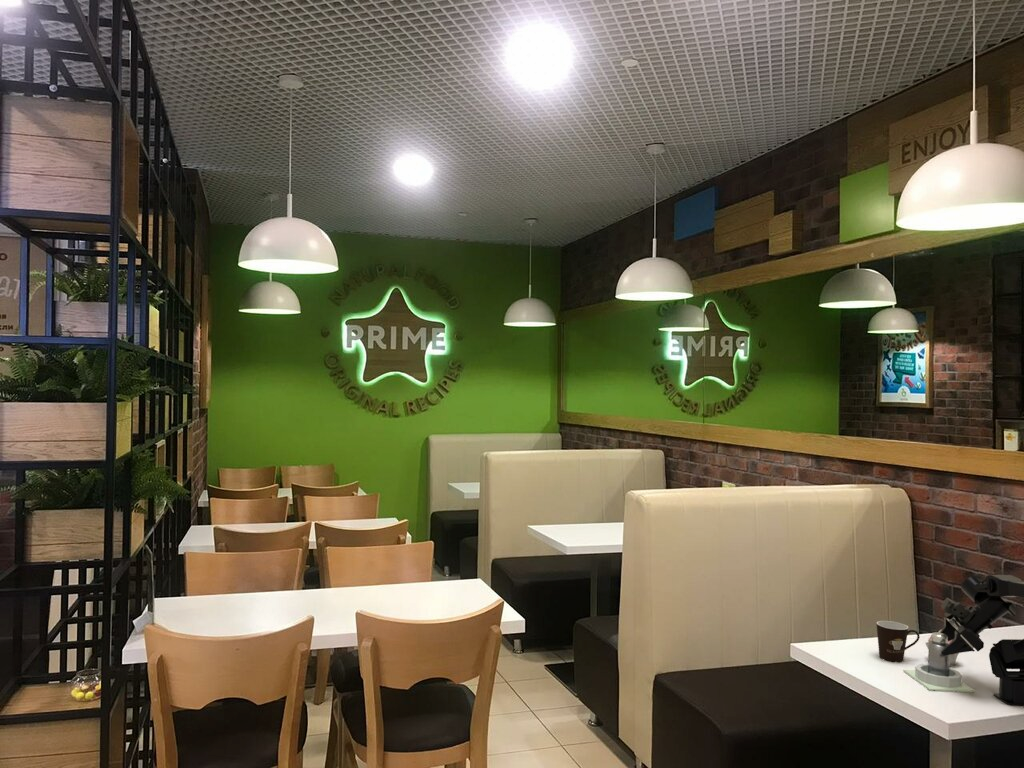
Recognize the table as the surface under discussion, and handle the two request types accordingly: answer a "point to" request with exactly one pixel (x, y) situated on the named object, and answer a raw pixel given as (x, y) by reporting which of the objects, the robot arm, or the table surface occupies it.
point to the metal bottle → (938, 655)
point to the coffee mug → (893, 640)
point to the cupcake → (952, 656)
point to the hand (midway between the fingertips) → (938, 648)
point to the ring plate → (931, 687)
